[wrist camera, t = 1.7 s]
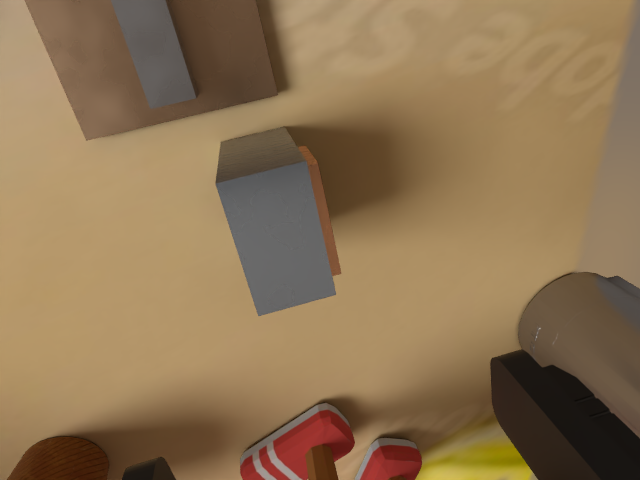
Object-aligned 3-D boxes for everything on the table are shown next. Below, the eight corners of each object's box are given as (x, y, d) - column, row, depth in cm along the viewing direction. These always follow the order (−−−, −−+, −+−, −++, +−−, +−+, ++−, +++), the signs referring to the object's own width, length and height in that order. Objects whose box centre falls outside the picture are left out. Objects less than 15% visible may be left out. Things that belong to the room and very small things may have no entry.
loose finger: (316, 225, 30) (347, 291, 22) (251, 242, 30) (258, 316, 21) (293, 124, 27) (319, 157, 19) (220, 141, 27) (215, 183, 18)
